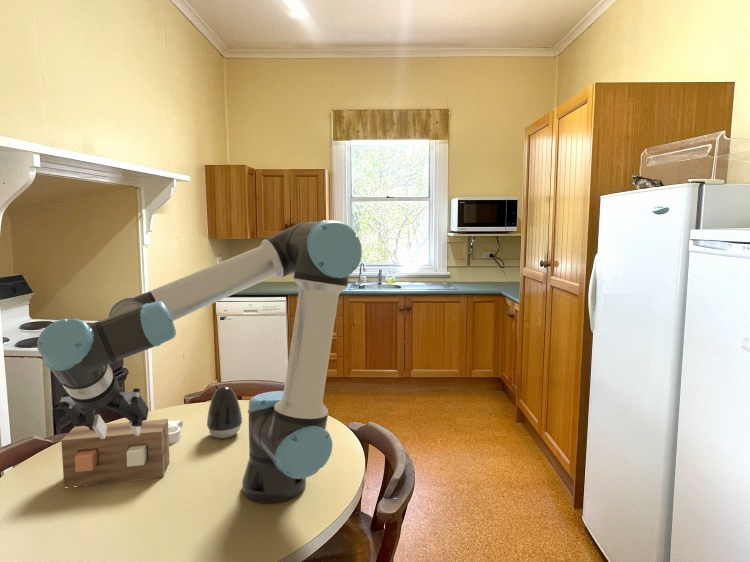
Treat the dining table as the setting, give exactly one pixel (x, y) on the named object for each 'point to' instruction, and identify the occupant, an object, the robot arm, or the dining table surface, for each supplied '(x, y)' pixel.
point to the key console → (116, 453)
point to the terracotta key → (86, 460)
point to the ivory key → (137, 455)
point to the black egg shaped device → (224, 413)
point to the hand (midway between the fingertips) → (121, 431)
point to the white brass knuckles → (174, 431)
